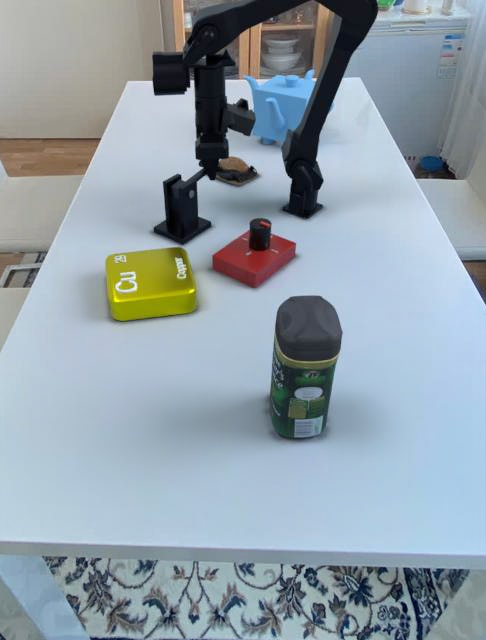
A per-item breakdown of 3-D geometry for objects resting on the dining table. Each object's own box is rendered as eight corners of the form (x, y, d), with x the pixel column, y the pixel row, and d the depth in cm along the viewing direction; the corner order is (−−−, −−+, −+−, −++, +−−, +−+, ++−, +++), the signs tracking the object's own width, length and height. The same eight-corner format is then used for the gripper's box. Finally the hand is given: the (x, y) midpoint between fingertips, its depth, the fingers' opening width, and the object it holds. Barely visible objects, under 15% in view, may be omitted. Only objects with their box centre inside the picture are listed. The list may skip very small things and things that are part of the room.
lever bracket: (182, 215, 120) (179, 167, 113) (211, 226, 117) (210, 178, 109) (153, 232, 116) (148, 183, 108) (183, 245, 112) (179, 195, 105)
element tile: (198, 312, 97) (197, 289, 94) (111, 323, 96) (107, 300, 92) (186, 265, 107) (185, 242, 104) (108, 274, 106) (103, 251, 102)
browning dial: (244, 246, 106) (245, 222, 102) (257, 237, 108) (258, 214, 104) (261, 253, 104) (263, 229, 100) (274, 244, 106) (276, 220, 102)
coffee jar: (265, 392, 84) (273, 288, 70) (318, 391, 84) (336, 286, 70) (271, 443, 77) (281, 339, 64) (329, 441, 77) (351, 337, 64)
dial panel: (253, 240, 113) (253, 225, 110) (295, 256, 108) (296, 242, 106) (212, 269, 106) (212, 254, 104) (255, 288, 102) (255, 273, 99)
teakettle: (333, 150, 141) (342, 85, 130) (261, 158, 138) (264, 93, 127) (307, 122, 153) (313, 60, 142) (240, 129, 150) (242, 67, 140)
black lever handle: (202, 167, 116) (201, 156, 114) (223, 174, 114) (222, 163, 112) (166, 195, 112) (164, 183, 110) (187, 203, 109) (185, 191, 107)
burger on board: (204, 174, 133) (203, 158, 131) (228, 162, 137) (228, 147, 134) (237, 188, 128) (237, 172, 125) (261, 175, 132) (262, 159, 129)
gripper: (257, 109, 97) (255, 196, 109) (250, 74, 110) (248, 155, 121) (193, 112, 97) (197, 198, 109) (193, 76, 110) (197, 157, 121)
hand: (212, 176), depth 115 cm, fingers closed on black lever handle, 3 cm apart
